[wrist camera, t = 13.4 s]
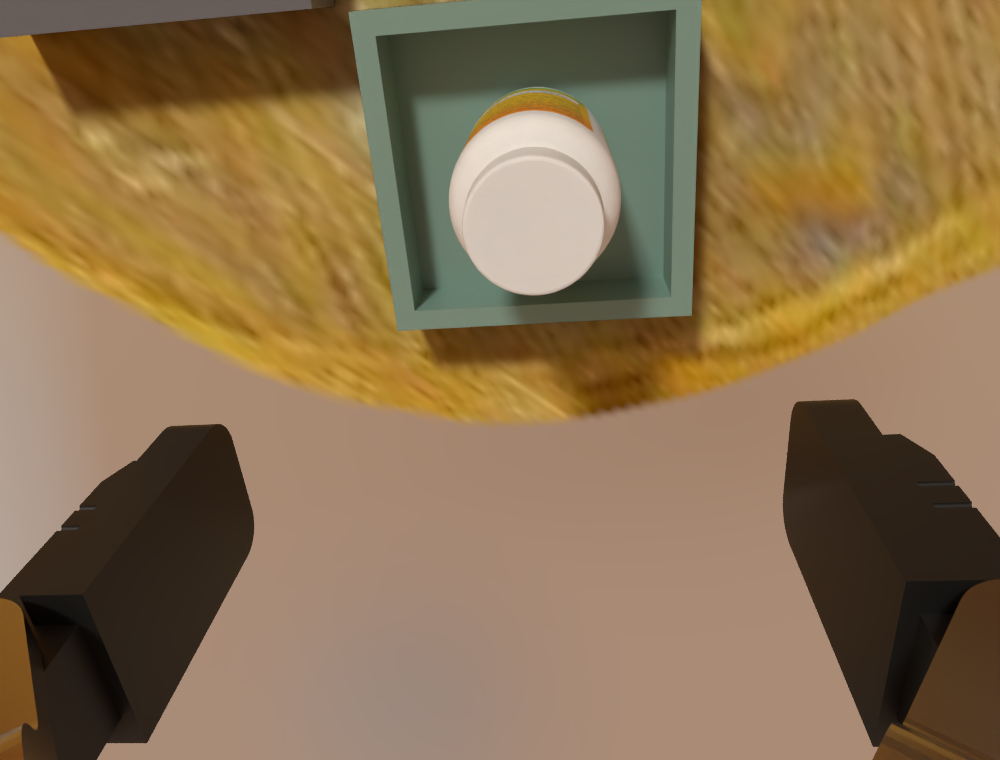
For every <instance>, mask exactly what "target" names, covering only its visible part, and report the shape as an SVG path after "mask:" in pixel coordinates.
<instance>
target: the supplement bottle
mask: <svg viewBox="0 0 1000 760" xmlns="http://www.w3.org/2000/svg"><path fill="white" fill-rule="evenodd" d="M620 208H621V187H620V180H619V176H618V172H617V168H616V165H615V163H614V160H613V157H612V155H611V152H610V150H609V147H608V144H607V141H606V139H605V136H604V133H603V131H602V129H601V127H600V125H599V124H598V122H597V120H596V118H595V117H594V116H593V114H592V113H591V112H590V111H589V109H588V108H587V107H586V106H585V105H583V104H582V103H581V102H580V101H578V100H577V99H576V98H574V97H572V96H571V95H569V94H566V93H564V92H562V91H559V90H556V89H552V88H546V87H529V88H523V89H519V90H516V91H513V92H511V93H509V94H507V95H505V96H503V97H501V98H500V99H498V100H497V101H495V102H494V103H493V104H492V105H491V106H490V107H488V108H487V109H486V110H485V112H484V113H483V114H482V115H481V116H480V118H479V119H478V121H477V122H476V124H475V126H474V128H473V130H472V132H471V134H470V136H469V138H468V140H467V142H466V144H465V146H464V148H463V150H462V152H461V154H460V156H459V158H458V160H457V163H456V165H455V168H454V170H453V174H452V177H451V182H450V189H449V211H450V218H451V222H452V226H453V228H454V231H455V234H456V236H457V238H458V240H459V242H460V244H461V245H462V247H463V249H464V250H465V252H466V253H467V254H468V255H469V257H470V259H471V260H472V262H473V264H474V265H475V266H476V268H477V269H478V270H479V271H480V273H481V274H482V275H483V276H484V277H486V278H487V279H488V280H489V281H490V282H492V283H493V284H495V285H497V286H498V287H500V288H502V289H504V290H507V291H510V292H513V293H517V294H522V295H545V294H550V293H554V292H556V291H559V290H562V289H564V288H566V287H568V286H570V285H572V284H573V283H574V282H576V281H577V280H578V279H580V278H581V277H582V276H583V275H584V274H585V273H586V272H587V271H588V270H589V268H590V267H591V266H592V264H593V263H594V261H595V260H596V259H597V258H598V257H599V256H600V255H601V254H602V252H603V251H604V250H605V248H606V246H607V245H608V243H609V242H610V240H611V238H612V236H613V234H614V232H615V229H616V226H617V223H618V220H619V215H620Z"/></svg>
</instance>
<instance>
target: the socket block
mask: <svg viewBox="0 0 1000 760" xmlns="http://www.w3.org/2000/svg"><path fill="white" fill-rule="evenodd" d="M333 6H335V4H334V0H0V38H2V37H12V36H23V35H34V34H45V33H56V32H66V31H77V30H88V29H99V28H110V27H120V26H131V25H142V24H153V23H163V22H174V21H185V20H196V19H207V18H217V17H228V16H239V15H250V14H261V13H271V12H282V11H293V10H304V9H314V8H323V7H333Z"/></svg>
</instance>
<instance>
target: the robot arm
mask: <svg viewBox="0 0 1000 760" xmlns="http://www.w3.org/2000/svg"><path fill="white" fill-rule="evenodd" d="M971 504H972V502H971V501H970V499H969V498H968V497H967V496H966V494H965V493H964V492H963V491H962V489H961V488H960V487H959V486H955V482H954V479H953V478H952V477H951V476H950V474H949V473H948V472H947V470H946V469H945V468H944V467H943V465H942V464H941V463H940V462H939V460H938V459H937V458H936V457H935V455H933V454H932V453H930V452H928V451H927V450H925V449H924V448H922V447H920V446H919V445H917V444H916V443H914V442H912V441H911V440H909V439H907V438H906V437H904V436H903V435H901V434H892V435H882V434H881V432H880V431H879V429H878V428H877V426H876V425H875V424H874V422H873V421H872V420H871V418H870V417H869V415H868V414H867V412H866V411H865V410H864V408H863V407H862V405H861V404H860V403H859V402H858V401H857V400H854V399H850V400H825V401H801V402H797V403H796V404H795V405H794V407H793V410H792V415H791V422H790V432H789V442H788V452H787V462H786V472H785V483H784V493H783V514H784V523H785V529H786V534H787V537H788V541H789V544H790V546H791V549H792V551H793V553H794V556H795V558H796V560H797V563H798V566H799V568H800V570H801V573H802V575H803V577H804V580H805V582H806V585H807V587H808V590H809V592H810V595H811V597H812V600H813V602H814V604H815V607H816V609H817V612H818V614H819V617H820V619H821V621H822V624H823V626H824V629H825V631H826V634H827V636H828V638H829V641H830V643H831V646H832V648H833V650H834V653H835V655H836V658H837V660H838V663H839V665H840V667H841V670H842V672H843V675H844V677H845V680H846V682H847V684H848V687H849V689H850V692H851V694H852V697H853V699H854V701H855V704H856V706H857V709H858V711H859V714H860V716H861V718H862V720H863V723H864V726H865V728H866V730H867V733H868V736H869V738H870V740H871V743H872V745H873V747H878V749H877V752H876V754H875V756H874V758H873V760H1000V537H999V536H998V535H997V533H996V532H995V531H994V530H993V529H992V527H991V526H990V525H989V523H988V522H987V521H986V520H985V518H984V517H983V516H982V514H981V513H980V512H979V511H978V509H977V508H972V505H971ZM61 527H62V530H61V531H56V532H55V533H54V535H53V536H52V537H51V538H50V539H49V540H48V541H47V542H46V543H45V544H44V546H43V547H42V548H41V549H40V550H39V551H38V552H37V553H36V554H35V555H34V557H33V558H32V559H31V560H30V561H29V562H28V563H27V564H26V565H25V566H24V568H23V569H22V570H21V571H20V572H19V573H18V574H17V575H16V576H15V577H14V579H13V580H12V581H11V582H10V583H9V584H8V585H7V586H6V587H5V588H4V590H3V591H2V592H1V593H0V760H97V758H98V756H99V755H100V753H101V751H102V750H103V748H104V746H105V745H106V743H147V742H148V740H149V738H150V736H151V734H152V733H153V731H154V729H155V727H156V725H157V723H158V721H159V720H160V718H161V716H162V714H163V712H164V710H165V708H166V706H167V705H168V703H169V701H170V699H171V697H172V695H173V693H174V692H175V690H176V688H177V686H178V684H179V682H180V681H181V679H182V677H183V675H184V673H185V671H186V669H187V668H188V666H189V664H190V662H191V660H192V658H193V656H194V655H195V653H196V651H197V649H198V647H199V645H200V643H201V642H202V640H203V638H204V636H205V634H206V632H207V630H208V629H209V627H210V625H211V623H212V621H213V619H214V617H215V616H216V614H217V612H218V610H219V608H220V606H221V604H222V603H223V601H224V599H225V597H226V595H227V593H228V591H229V589H230V588H231V586H232V584H233V582H234V580H235V578H236V577H237V575H238V573H239V571H240V569H241V567H242V565H243V563H244V562H245V560H246V558H247V556H248V554H249V552H250V549H251V546H252V541H253V535H254V517H253V511H252V507H251V504H250V500H249V497H248V493H247V490H246V486H245V483H244V479H243V475H242V472H241V468H240V465H239V461H238V458H237V454H236V451H235V447H234V444H233V440H232V437H231V435H230V433H229V431H228V430H227V428H226V427H224V426H223V425H221V424H211V425H186V426H171V427H168V428H166V429H165V430H164V431H163V432H162V433H161V434H160V435H159V436H158V437H157V438H156V440H155V441H154V442H153V443H152V444H151V445H150V446H149V448H148V449H147V450H146V451H145V452H144V453H143V454H142V456H141V457H140V458H139V459H138V460H137V461H133V462H131V463H130V464H128V465H127V466H125V467H124V468H122V469H120V470H119V471H117V472H116V473H114V474H113V475H111V476H110V477H108V478H107V479H105V480H104V481H102V482H101V483H100V484H99V485H98V486H97V487H96V488H95V489H94V491H93V492H92V493H91V494H90V495H89V496H88V497H87V498H86V499H85V500H84V502H83V503H82V504H81V505H80V510H79V511H74V513H73V514H72V515H71V516H70V517H69V518H68V519H67V520H66V521H65V523H64V524H63V525H62V526H61Z"/></svg>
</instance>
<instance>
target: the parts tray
mask: <svg viewBox="0 0 1000 760" xmlns="http://www.w3.org/2000/svg"><path fill="white" fill-rule="evenodd" d="M701 4H702V0H464V1H453V2H442V3H431V4H420V5H409V6H398V7H388V8H377V9H366V10H359V11H352V12H348V14H349V20H350V27H351V33H352V40H353V46H354V53H355V59H356V65H357V72H358V78H359V85H360V91H361V98H362V104H363V110H364V117H365V123H366V130H367V136H368V143H369V149H370V156H371V162H372V168H373V175H374V181H375V188H376V194H377V201H378V207H379V213H380V220H381V226H382V233H383V239H384V246H385V252H386V259H387V265H388V271H389V278H390V284H391V291H392V297H393V304H394V310H395V316H396V323H397V329H398V331H403V330H423V329H442V328H461V327H480V326H500V325H519V324H538V323H557V322H577V321H596V320H615V319H634V318H654V317H673V316H692V290H693V258H694V226H695V195H696V163H697V131H698V99H699V68H700V36H701ZM529 87H546V88H552V89H556V90H559V91H562V92H564V93H566V94H569V95H571V96H572V97H574V98H576V99H577V100H578V101H580V102H581V103H582V104H583V105H585V106H586V107H587V108H588V109H589V111H590V112H591V113H592V114H593V116H594V117H595V118H596V120H597V122H598V124H599V125H600V127H601V129H602V131H603V133H604V136H605V139H606V141H607V144H608V147H609V150H610V152H611V155H612V157H613V160H614V163H615V165H616V168H617V172H618V176H619V180H620V187H621V208H620V215H619V220H618V223H617V226H616V229H615V232H614V234H613V236H612V238H611V240H610V242H609V243H608V245H607V246H606V248H605V250H604V251H603V252H602V254H601V255H600V256H599V257H598V258H597V259H596V260H595V261H594V263H593V264H592V266H591V267H590V268H589V270H588V271H587V272H586V273H585V274H584V275H583V276H582V277H581V278H580V279H578V280H577V281H576V282H574V283H573V284H572V285H570V286H568V287H566V288H564V289H562V290H559V291H556V292H554V293H550V294H545V295H522V294H517V293H513V292H510V291H507V290H504V289H502V288H500V287H498V286H497V285H495V284H493V283H492V282H490V281H489V280H488V279H487V278H486V277H484V276H483V275H482V274H481V273H480V271H479V270H478V269H477V268H476V266H475V265H474V264H473V262H472V260H471V259H470V257H469V255H468V254H467V253H466V252H465V250H464V249H463V247H462V245H461V244H460V242H459V240H458V238H457V236H456V234H455V231H454V228H453V226H452V222H451V218H450V211H449V189H450V182H451V177H452V174H453V170H454V168H455V165H456V163H457V160H458V158H459V156H460V154H461V152H462V150H463V148H464V146H465V144H466V142H467V140H468V138H469V136H470V134H471V132H472V130H473V128H474V126H475V124H476V122H477V121H478V119H479V118H480V116H481V115H482V114H483V113H484V112H485V110H486V109H487V108H488V107H490V106H491V105H492V104H493V103H494V102H495V101H497V100H498V99H500V98H501V97H503V96H505V95H507V94H509V93H511V92H513V91H516V90H519V89H523V88H529Z"/></svg>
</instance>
